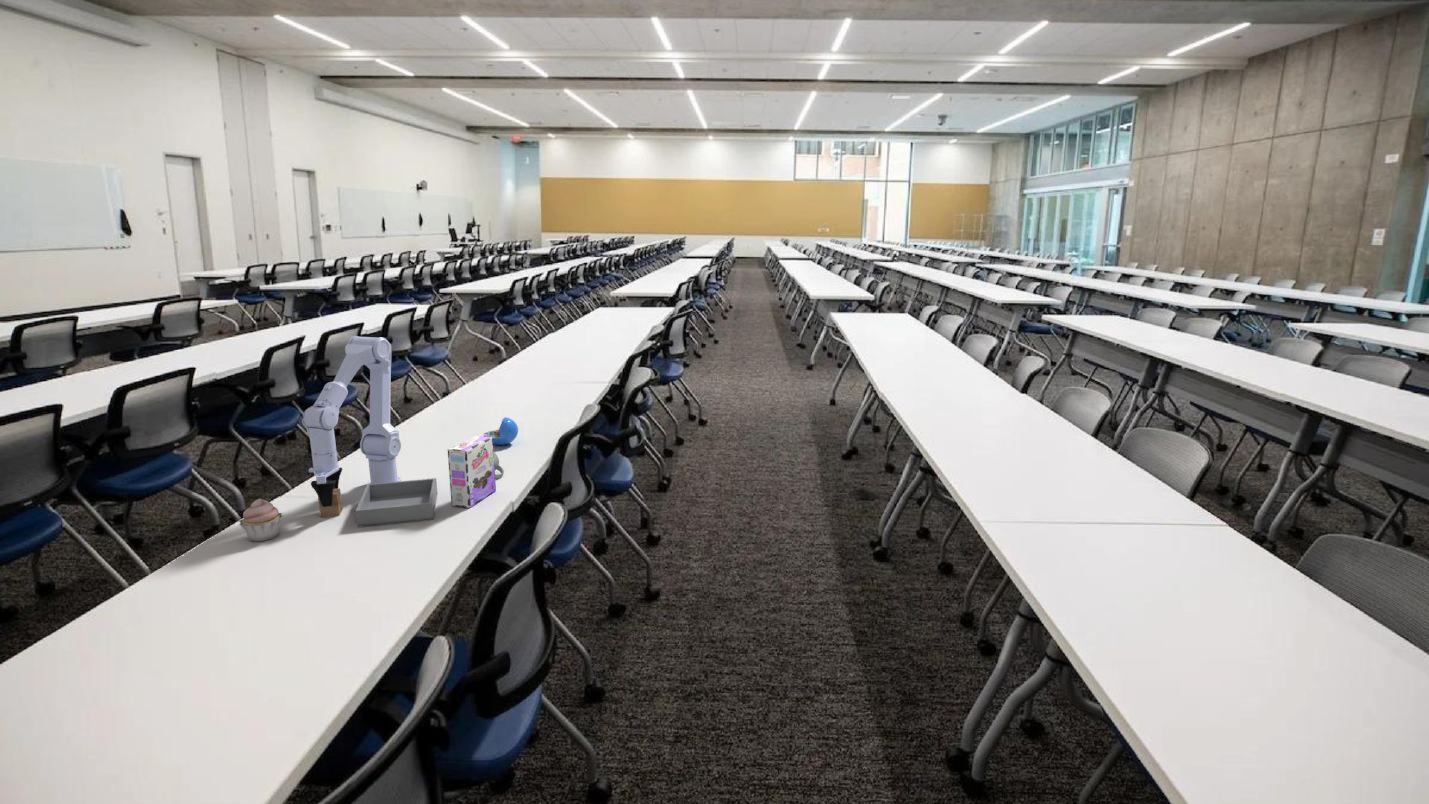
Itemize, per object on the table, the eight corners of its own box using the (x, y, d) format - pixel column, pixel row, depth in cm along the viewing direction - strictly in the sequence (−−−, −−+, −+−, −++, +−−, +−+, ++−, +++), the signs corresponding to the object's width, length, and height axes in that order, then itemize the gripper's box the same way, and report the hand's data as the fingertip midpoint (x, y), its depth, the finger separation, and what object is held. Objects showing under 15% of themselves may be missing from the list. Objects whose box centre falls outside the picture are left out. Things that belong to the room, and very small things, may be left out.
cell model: (490, 439, 264) (488, 413, 261) (523, 440, 263) (521, 414, 260) (479, 447, 254) (477, 420, 252) (513, 449, 253) (511, 421, 251)
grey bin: (368, 499, 207) (367, 484, 206) (437, 493, 212) (436, 478, 211) (357, 527, 189) (355, 510, 188) (433, 519, 194) (431, 503, 193)
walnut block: (324, 511, 199) (321, 489, 198) (342, 509, 200) (340, 488, 199) (320, 517, 195) (317, 495, 193) (339, 515, 196) (337, 494, 195)
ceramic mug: (463, 479, 224) (462, 454, 222) (477, 470, 232) (476, 446, 230) (495, 482, 222) (494, 458, 220) (509, 473, 229) (508, 449, 228)
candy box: (470, 508, 201) (465, 450, 197) (450, 506, 203) (446, 448, 199) (497, 491, 214) (493, 436, 210) (478, 489, 216) (474, 434, 212)
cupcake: (265, 546, 177) (260, 507, 175) (232, 543, 179) (226, 504, 177) (294, 531, 186) (289, 493, 184) (262, 527, 188) (257, 490, 186)
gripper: (312, 445, 199) (318, 492, 202) (300, 461, 186) (307, 512, 189) (341, 443, 201) (347, 490, 204) (331, 459, 188) (337, 509, 191)
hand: (330, 500), depth 197 cm, fingers open, 7 cm apart
